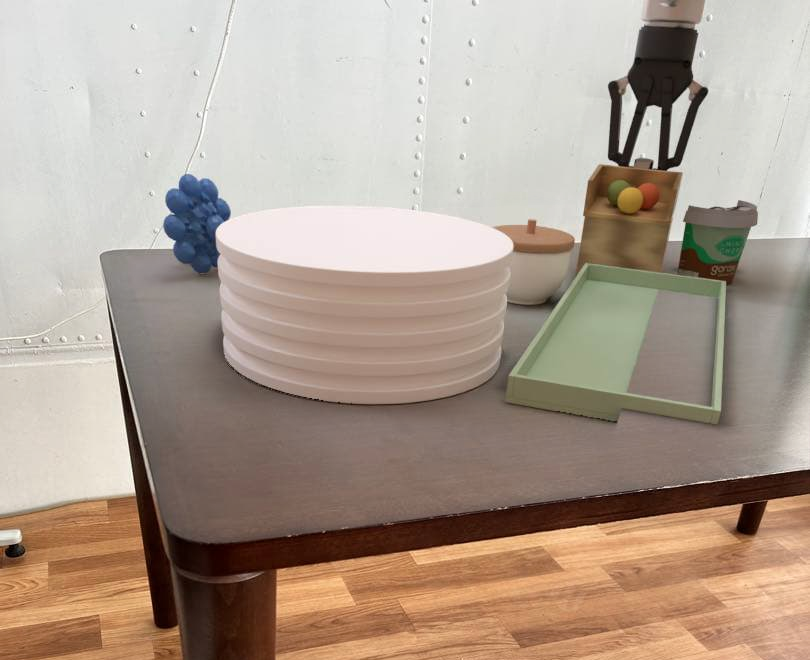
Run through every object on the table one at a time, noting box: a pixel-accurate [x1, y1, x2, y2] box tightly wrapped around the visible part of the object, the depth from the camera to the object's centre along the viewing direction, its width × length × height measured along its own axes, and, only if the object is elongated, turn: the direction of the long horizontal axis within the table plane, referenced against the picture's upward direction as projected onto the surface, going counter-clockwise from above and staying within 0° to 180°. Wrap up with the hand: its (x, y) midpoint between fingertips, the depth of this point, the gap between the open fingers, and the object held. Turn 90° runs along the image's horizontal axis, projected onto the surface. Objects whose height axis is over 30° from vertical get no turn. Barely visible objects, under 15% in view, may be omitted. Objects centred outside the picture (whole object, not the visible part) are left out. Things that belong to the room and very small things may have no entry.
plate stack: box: [216, 205, 514, 405], centre depth 81 cm, size 28×28×12 cm
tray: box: [504, 263, 727, 425], centre depth 90 cm, size 18×46×3 cm, turn 161°
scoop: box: [582, 157, 684, 226], centre depth 111 cm, size 11×15×4 cm
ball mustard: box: [618, 187, 643, 214], centre depth 106 cm, size 3×3×3 cm
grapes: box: [162, 173, 232, 274], centre depth 102 cm, size 12×7×12 cm, turn 151°
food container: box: [676, 199, 759, 286], centre depth 112 cm, size 12×6×10 cm, turn 126°
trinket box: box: [492, 218, 576, 306], centre depth 101 cm, size 11×11×9 cm
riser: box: [574, 216, 674, 277], centre depth 113 cm, size 11×6×8 cm, turn 71°
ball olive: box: [607, 180, 631, 206], centre depth 109 cm, size 3×3×3 cm
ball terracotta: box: [638, 183, 659, 209], centre depth 108 cm, size 3×3×3 cm
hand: (633, 216), depth 118 cm, fingers closed on scoop, 3 cm apart
